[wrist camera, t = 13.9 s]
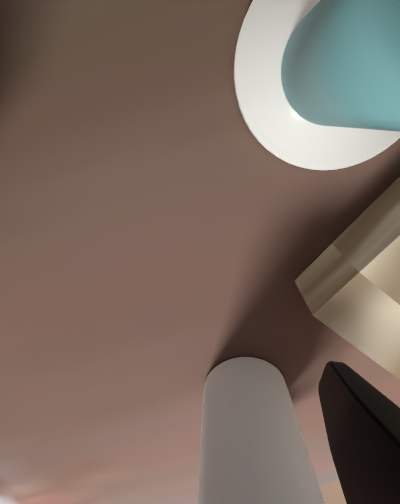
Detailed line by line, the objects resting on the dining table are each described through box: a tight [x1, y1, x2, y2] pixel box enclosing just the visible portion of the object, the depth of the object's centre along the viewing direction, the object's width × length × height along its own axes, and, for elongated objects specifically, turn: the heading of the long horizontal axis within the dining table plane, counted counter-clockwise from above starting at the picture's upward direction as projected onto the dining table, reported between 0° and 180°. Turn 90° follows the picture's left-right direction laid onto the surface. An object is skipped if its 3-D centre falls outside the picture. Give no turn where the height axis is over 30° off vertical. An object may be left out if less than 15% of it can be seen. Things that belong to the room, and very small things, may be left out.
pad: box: [234, 0, 400, 170], centre depth 16 cm, size 10×10×1 cm
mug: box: [198, 357, 324, 504], centre depth 20 cm, size 10×7×12 cm, turn 17°
